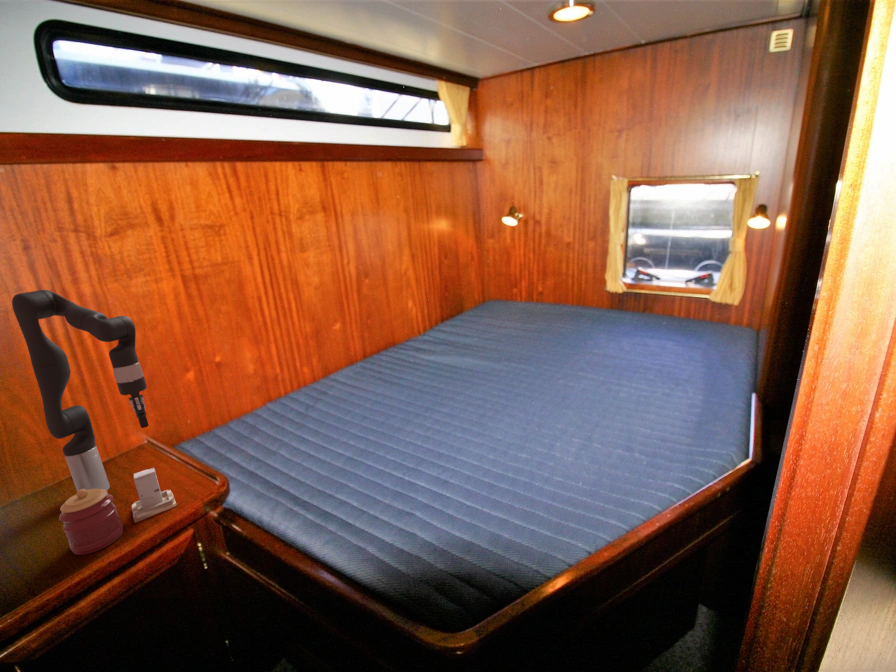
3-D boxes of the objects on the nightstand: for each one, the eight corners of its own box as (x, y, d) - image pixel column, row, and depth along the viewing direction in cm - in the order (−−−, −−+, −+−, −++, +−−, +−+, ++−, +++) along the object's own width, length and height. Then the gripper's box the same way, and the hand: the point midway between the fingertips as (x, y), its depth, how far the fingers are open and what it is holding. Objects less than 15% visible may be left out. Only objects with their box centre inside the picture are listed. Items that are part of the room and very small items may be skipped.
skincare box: (143, 511, 149) (132, 479, 146) (142, 506, 153) (132, 473, 150) (164, 503, 153) (154, 471, 150) (163, 498, 156) (153, 466, 153)
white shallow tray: (132, 509, 153) (130, 503, 153) (172, 494, 160) (170, 487, 160) (134, 522, 145) (132, 516, 145) (176, 505, 152) (174, 499, 152)
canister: (97, 527, 145) (80, 478, 141) (134, 526, 144) (117, 476, 140) (60, 556, 133) (40, 503, 129) (99, 555, 131) (80, 502, 127)
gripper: (115, 377, 151) (130, 425, 155) (117, 385, 140) (133, 436, 145) (141, 370, 155) (155, 417, 159) (145, 378, 145) (160, 428, 149)
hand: (144, 426), depth 152 cm, fingers closed
